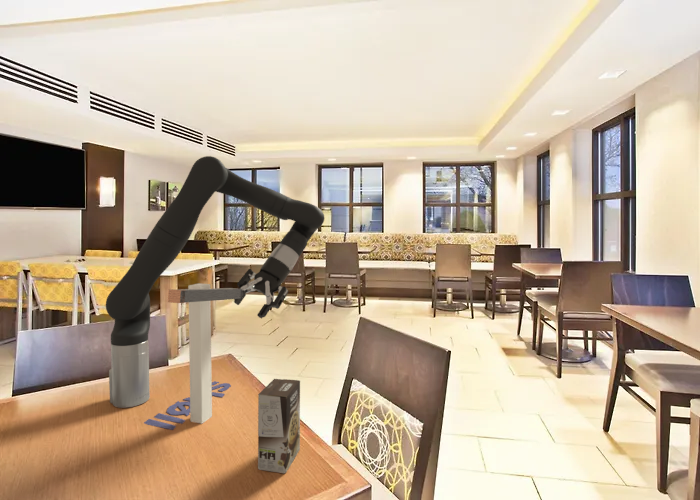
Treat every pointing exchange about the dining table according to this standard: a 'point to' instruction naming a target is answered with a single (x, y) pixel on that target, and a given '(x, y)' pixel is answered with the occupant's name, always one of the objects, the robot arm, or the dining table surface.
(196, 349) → the stand
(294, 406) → the coffee box
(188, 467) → the dining table surface
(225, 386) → the signage
